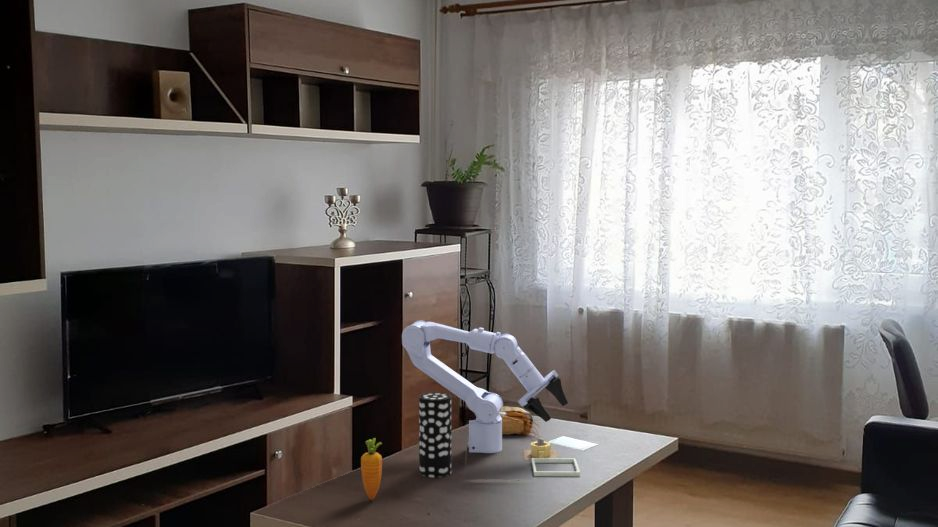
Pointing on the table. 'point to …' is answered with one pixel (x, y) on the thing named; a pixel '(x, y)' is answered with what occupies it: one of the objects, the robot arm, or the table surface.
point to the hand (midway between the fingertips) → (557, 412)
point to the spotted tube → (435, 434)
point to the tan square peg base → (540, 443)
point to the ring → (540, 450)
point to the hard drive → (573, 443)
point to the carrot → (371, 469)
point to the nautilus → (516, 421)
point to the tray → (555, 473)
